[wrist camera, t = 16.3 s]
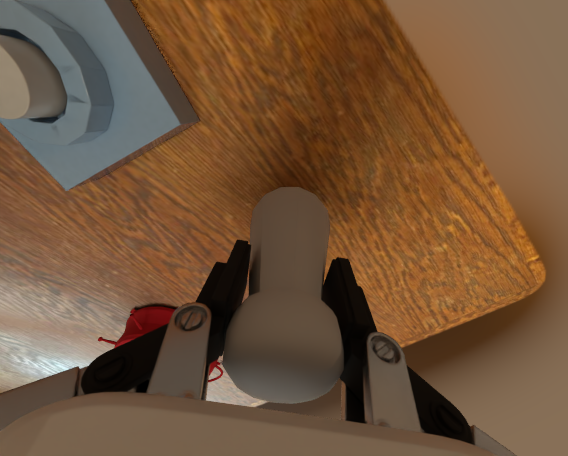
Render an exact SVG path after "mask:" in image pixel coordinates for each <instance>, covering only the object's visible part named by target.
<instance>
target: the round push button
mask: <svg viewBox="0 0 568 456" xmlns="http://www.w3.org/2000/svg"><path fill="white" fill-rule="evenodd" d="M66 104H67V93H66V90H65V87H64V84H63V81H62V78H61V75H60V72H59V70H58V69H57V68H56V66H55V65H54V64H53V63H52V61H51V60H50V59H49V57H48V56H47V55H46V54H45V53H44V52H42V51H41V50H40V49H39V48H37V47H36V46H35V45H33V44H31V43H30V42H27V41H25V40H23V39H20V38H16V37H12V36H7V35H3V34H0V118H4V119H31V118H50V117H56V116H58V115H60V114H61V113H62V112H63V111H64V109H65V107H66Z"/></svg>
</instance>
